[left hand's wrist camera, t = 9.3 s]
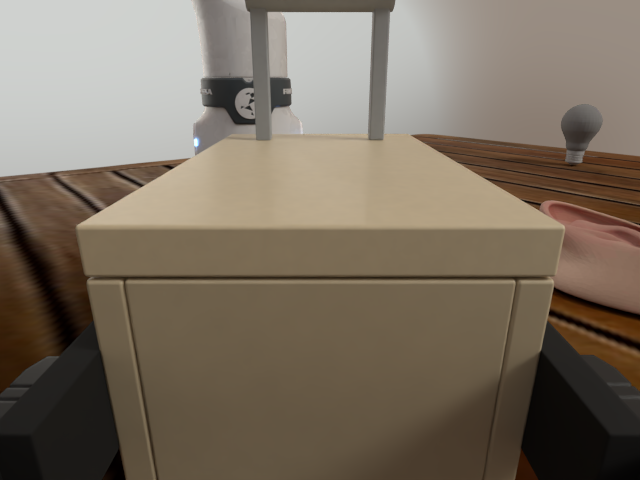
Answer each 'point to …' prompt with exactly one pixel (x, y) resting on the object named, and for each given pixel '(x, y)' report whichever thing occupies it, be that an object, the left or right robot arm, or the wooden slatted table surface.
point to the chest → (320, 375)
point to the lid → (320, 200)
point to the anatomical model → (597, 256)
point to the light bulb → (580, 130)
